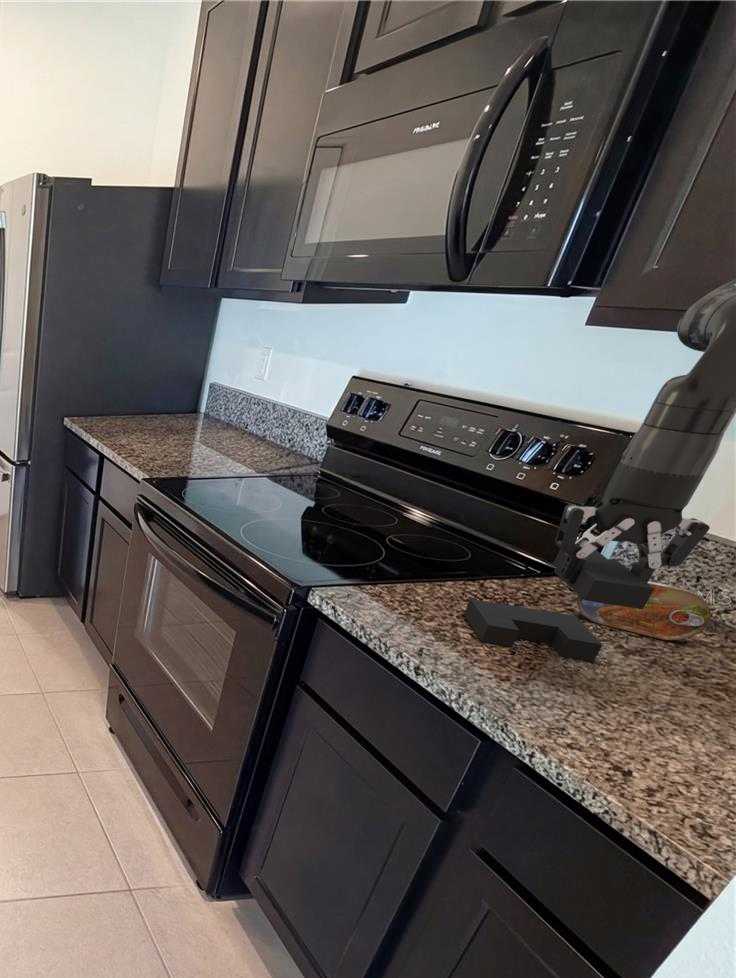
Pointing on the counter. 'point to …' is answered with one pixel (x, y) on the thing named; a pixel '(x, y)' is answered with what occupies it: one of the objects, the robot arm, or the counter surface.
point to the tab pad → (607, 582)
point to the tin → (654, 614)
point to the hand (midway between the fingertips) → (598, 585)
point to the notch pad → (531, 628)
